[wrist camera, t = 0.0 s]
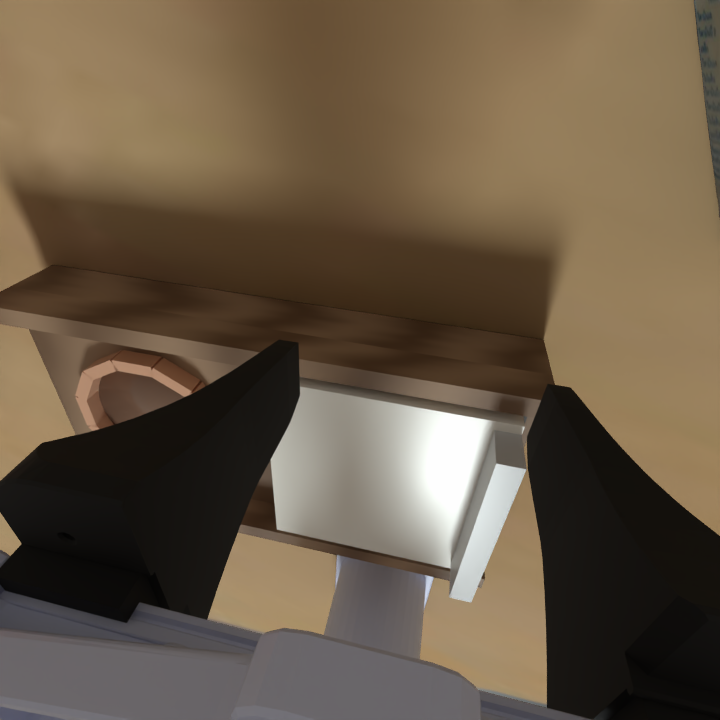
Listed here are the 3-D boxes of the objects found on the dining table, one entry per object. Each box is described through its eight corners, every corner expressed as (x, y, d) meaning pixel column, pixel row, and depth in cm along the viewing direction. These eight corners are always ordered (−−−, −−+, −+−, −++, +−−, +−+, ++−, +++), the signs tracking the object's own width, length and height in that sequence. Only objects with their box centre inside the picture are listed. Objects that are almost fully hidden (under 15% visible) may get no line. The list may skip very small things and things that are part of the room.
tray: (543, 340, 22) (559, 403, 18) (479, 518, 31) (481, 588, 27) (52, 265, 26) (-24, 304, 22) (119, 443, 35) (73, 494, 31)
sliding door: (523, 414, 20) (529, 461, 18) (469, 560, 27) (469, 606, 25) (269, 370, 21) (245, 407, 19) (281, 518, 28) (264, 558, 26)
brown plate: (219, 366, 24) (210, 378, 23) (237, 477, 29) (230, 489, 28) (69, 340, 25) (55, 349, 24) (112, 451, 30) (102, 462, 29)
